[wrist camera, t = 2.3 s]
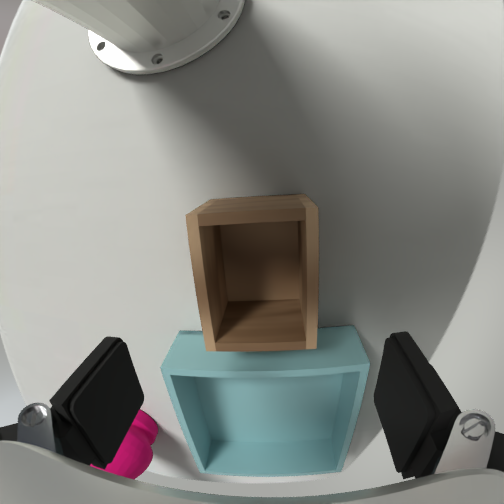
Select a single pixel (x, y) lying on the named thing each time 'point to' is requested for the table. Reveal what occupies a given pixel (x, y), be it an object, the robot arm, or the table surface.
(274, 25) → the table surface
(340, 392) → the big crate
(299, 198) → the small crate
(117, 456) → the pepper mill
